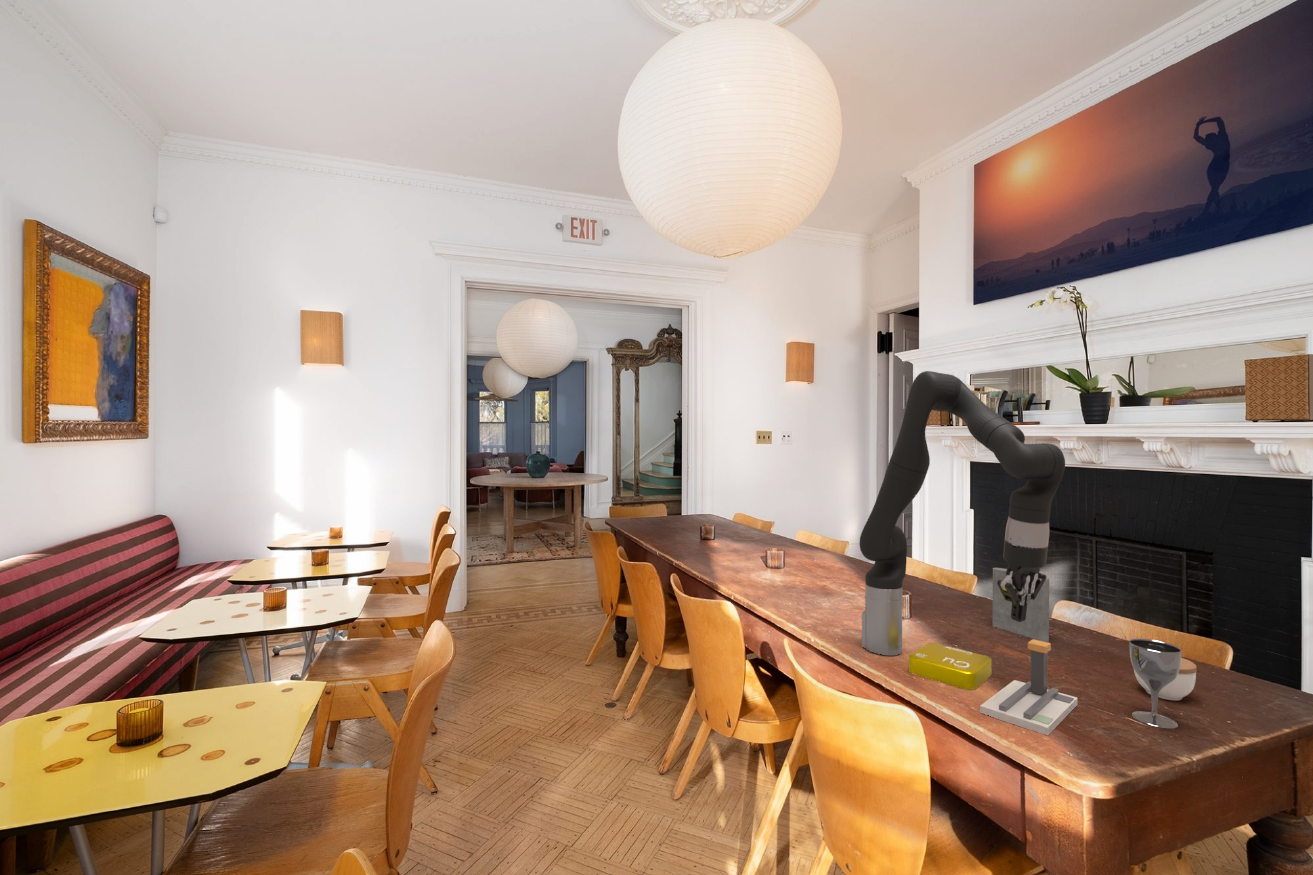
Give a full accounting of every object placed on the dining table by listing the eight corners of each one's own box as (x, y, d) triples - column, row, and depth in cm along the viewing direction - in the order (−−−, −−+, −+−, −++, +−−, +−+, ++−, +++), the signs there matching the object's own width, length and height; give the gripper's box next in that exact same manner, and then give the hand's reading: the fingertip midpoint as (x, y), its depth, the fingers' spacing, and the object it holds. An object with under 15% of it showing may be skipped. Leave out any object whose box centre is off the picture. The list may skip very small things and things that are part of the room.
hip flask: (990, 626, 177) (990, 559, 177) (998, 624, 179) (999, 558, 179) (1044, 642, 163) (1044, 570, 163) (1053, 640, 164) (1053, 569, 164)
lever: (1027, 691, 126) (1027, 642, 126) (1032, 687, 129) (1032, 639, 129) (1045, 697, 124) (1045, 646, 124) (1050, 692, 126) (1050, 643, 126)
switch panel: (980, 713, 120) (980, 700, 120) (1014, 686, 133) (1014, 675, 133) (1047, 735, 111) (1047, 722, 111) (1077, 704, 124) (1077, 693, 124)
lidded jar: (1120, 683, 135) (1120, 643, 135) (1168, 684, 135) (1168, 644, 135) (1158, 704, 125) (1159, 660, 125) (1210, 705, 124) (1210, 661, 124)
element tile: (994, 675, 141) (994, 655, 141) (972, 693, 131) (973, 672, 131) (929, 657, 152) (930, 639, 152) (905, 673, 141) (905, 654, 141)
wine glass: (1118, 711, 122) (1119, 638, 122) (1154, 709, 122) (1154, 638, 122) (1154, 730, 114) (1154, 652, 114) (1192, 728, 114) (1192, 651, 114)
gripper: (1028, 530, 126) (1020, 607, 128) (987, 539, 120) (980, 618, 123) (1065, 541, 119) (1055, 621, 122) (1023, 550, 113) (1015, 634, 116)
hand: (1017, 619), depth 122 cm, fingers closed
